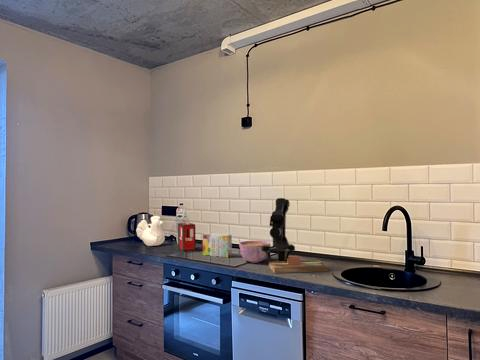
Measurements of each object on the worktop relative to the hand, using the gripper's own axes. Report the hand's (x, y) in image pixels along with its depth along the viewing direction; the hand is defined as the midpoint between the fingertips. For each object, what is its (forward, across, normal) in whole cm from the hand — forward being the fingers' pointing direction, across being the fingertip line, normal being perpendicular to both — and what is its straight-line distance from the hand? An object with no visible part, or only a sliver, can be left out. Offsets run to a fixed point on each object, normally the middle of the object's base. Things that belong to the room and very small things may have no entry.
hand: (278, 262), depth 191 cm
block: (+1, +9, 0) cm, 9 cm away
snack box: (+3, -34, +42) cm, 54 cm away
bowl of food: (+3, -11, +20) cm, 23 cm away
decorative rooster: (+3, -87, +95) cm, 129 cm away
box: (+3, +11, -4) cm, 12 cm away
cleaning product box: (+3, -56, +66) cm, 87 cm away
